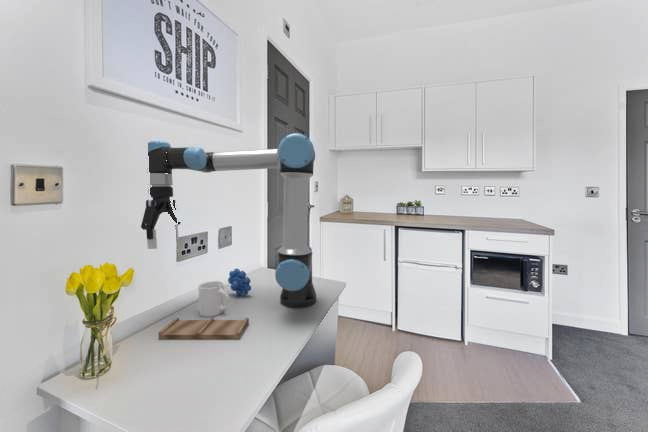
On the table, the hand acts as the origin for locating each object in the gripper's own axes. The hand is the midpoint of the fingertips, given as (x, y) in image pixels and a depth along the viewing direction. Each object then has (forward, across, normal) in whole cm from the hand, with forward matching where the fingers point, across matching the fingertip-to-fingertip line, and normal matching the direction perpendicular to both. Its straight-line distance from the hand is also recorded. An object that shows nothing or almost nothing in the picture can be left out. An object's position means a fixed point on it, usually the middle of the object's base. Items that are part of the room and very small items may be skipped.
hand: (164, 245), depth 101 cm
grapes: (+26, -18, +20) cm, 38 cm away
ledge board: (+26, +12, +20) cm, 35 cm away
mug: (+27, -2, +17) cm, 32 cm away
